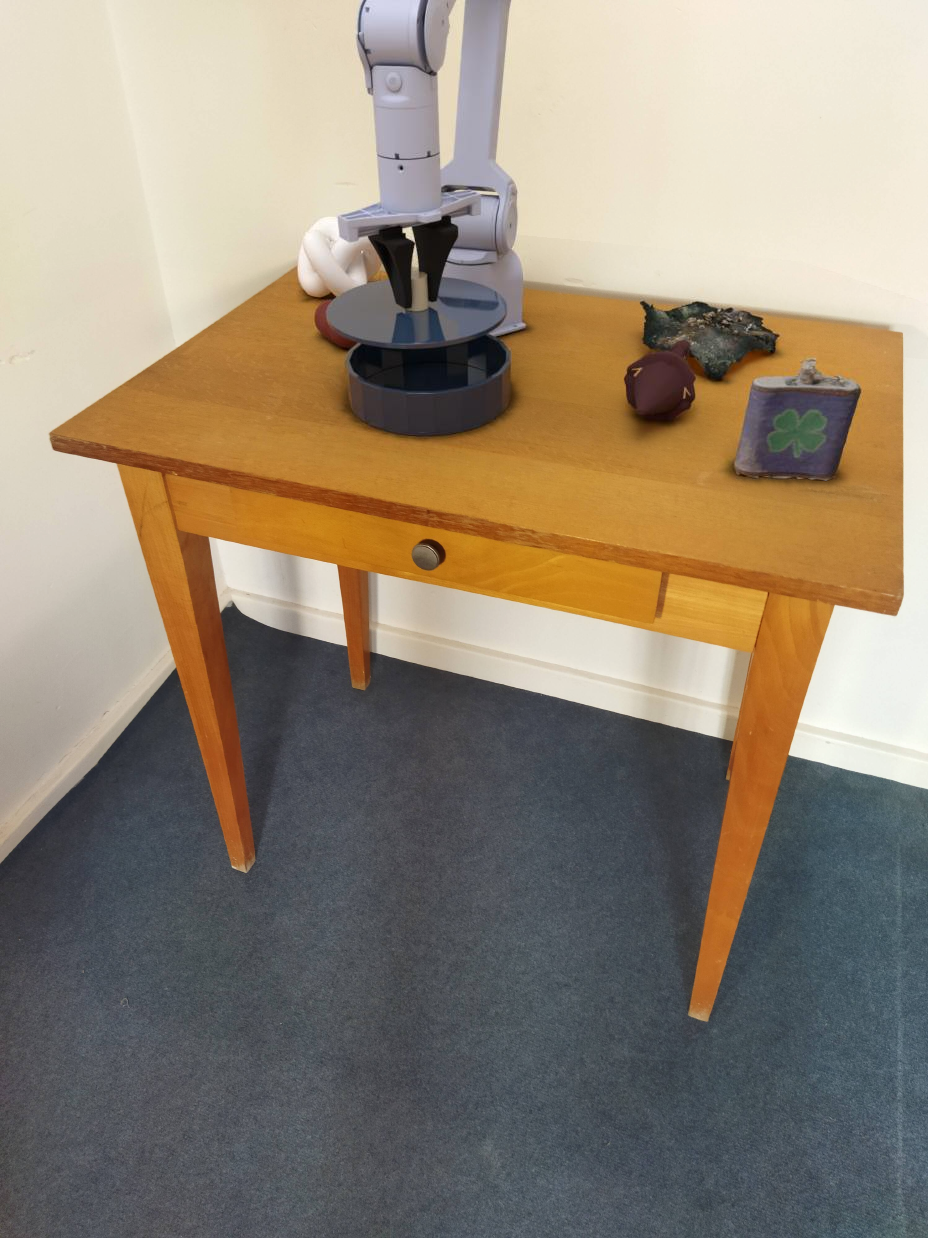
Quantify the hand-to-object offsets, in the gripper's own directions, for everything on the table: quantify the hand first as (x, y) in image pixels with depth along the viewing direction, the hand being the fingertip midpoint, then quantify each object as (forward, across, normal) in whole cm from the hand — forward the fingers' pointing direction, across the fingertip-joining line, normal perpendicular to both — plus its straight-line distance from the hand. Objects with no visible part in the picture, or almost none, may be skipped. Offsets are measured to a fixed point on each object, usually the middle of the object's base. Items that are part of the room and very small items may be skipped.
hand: (416, 302), depth 88 cm
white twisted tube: (+10, +8, +32) cm, 35 cm away
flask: (+10, +20, -33) cm, 40 cm away
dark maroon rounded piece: (+10, +18, -18) cm, 27 cm away
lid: (+1, 0, 0) cm, 1 cm away
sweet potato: (+10, 0, +18) cm, 21 cm away
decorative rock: (+10, +35, -8) cm, 37 cm away
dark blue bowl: (+10, +1, -1) cm, 10 cm away
